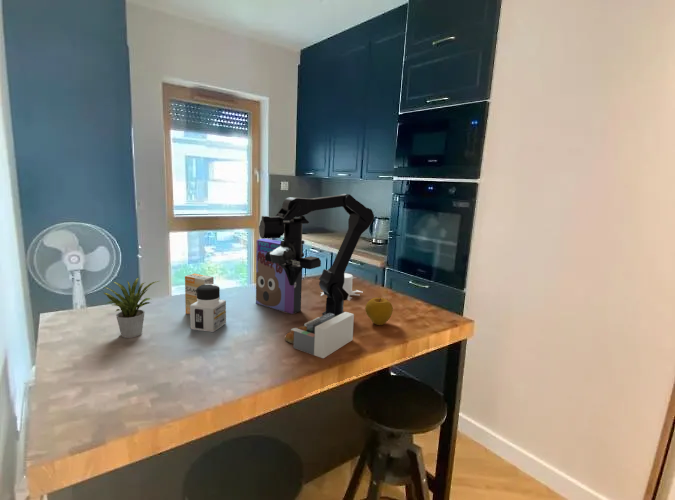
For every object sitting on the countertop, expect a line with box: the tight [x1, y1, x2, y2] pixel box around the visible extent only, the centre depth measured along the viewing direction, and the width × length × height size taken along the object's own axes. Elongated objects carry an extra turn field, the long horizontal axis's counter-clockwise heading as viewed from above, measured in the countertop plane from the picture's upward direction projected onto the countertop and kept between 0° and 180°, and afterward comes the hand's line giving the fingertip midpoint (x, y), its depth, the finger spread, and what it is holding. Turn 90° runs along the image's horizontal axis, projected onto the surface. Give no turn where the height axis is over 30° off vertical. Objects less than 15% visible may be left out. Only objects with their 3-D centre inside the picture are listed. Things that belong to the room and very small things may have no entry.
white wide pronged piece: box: [320, 272, 362, 301], centre depth 156 cm, size 20×19×8 cm
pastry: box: [284, 325, 307, 344], centre depth 109 cm, size 9×7×4 cm
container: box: [189, 284, 227, 333], centre depth 114 cm, size 8×8×13 cm
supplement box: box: [184, 273, 215, 315], centre depth 124 cm, size 8×5×13 cm, turn 68°
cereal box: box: [255, 238, 304, 315], centre depth 133 cm, size 17×5×24 cm, turn 56°
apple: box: [364, 297, 394, 326], centre depth 123 cm, size 9×9×9 cm
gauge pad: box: [303, 313, 335, 334], centre depth 106 cm, size 13×2×8 cm, turn 147°
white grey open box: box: [290, 311, 355, 359], centre depth 106 cm, size 15×11×8 cm
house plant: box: [103, 277, 160, 339], centre depth 107 cm, size 14×14×16 cm
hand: (291, 285), depth 121 cm, fingers closed
